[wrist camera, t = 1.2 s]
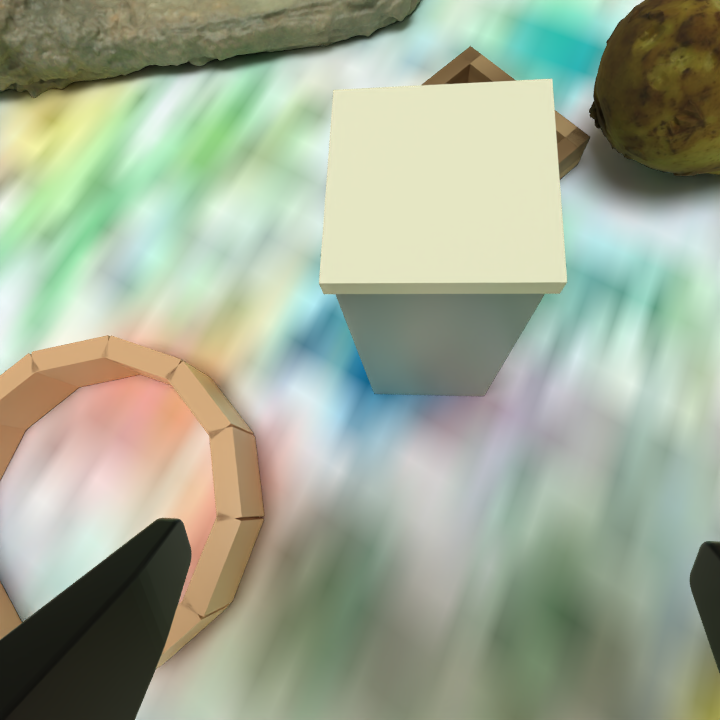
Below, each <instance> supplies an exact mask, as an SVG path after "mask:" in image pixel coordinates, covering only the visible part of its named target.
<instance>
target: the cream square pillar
mask: <svg viewBox="0 0 720 720" xmlns="http://www.w3.org/2000/svg"><path fill="white" fill-rule="evenodd" d="M566 283H567V274H566V261H565V247H564V233H563V220H562V206H561V192H560V179H559V165H558V151H557V138H556V124H555V110H554V97H553V83H552V79H539V80H519V81H499V82H480V83H460V84H441V85H421V86H401V87H382V88H362V89H343V90H333V103H332V116H331V130H330V143H329V157H328V170H327V183H326V197H325V210H324V223H323V237H322V250H321V264H320V277H319V285H320V287H321V289H322V291H323V294H336V296H337V299H338V302H339V304H340V307H341V309H342V312H343V314H344V317H345V320H346V322H347V325H348V327H349V330H350V332H351V335H352V338H353V340H354V343H355V345H356V348H357V350H358V353H359V356H360V358H361V361H362V363H363V366H364V369H365V371H366V374H367V376H368V379H369V381H370V384H371V387H372V389H373V392H374V394H400V395H446V396H484V395H485V394H486V392H487V390H488V389H489V387H490V385H491V384H492V382H493V380H494V379H495V377H496V375H497V373H498V372H499V370H500V368H501V367H502V365H503V363H504V362H505V360H506V358H507V357H508V355H509V353H510V352H511V350H512V348H513V347H514V345H515V343H516V342H517V340H518V338H519V337H520V335H521V333H522V331H523V330H524V328H525V326H526V325H527V323H528V321H529V320H530V318H531V316H532V315H533V313H534V311H535V310H536V308H537V306H538V305H539V303H540V301H541V300H542V298H543V296H544V295H545V294H560V292H561V291H562V289H563V288H564V286H565V285H566Z"/></svg>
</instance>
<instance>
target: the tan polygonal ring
mask: <svg viewBox="0 0 720 720" xmlns="http://www.w3.org/2000/svg"><path fill="white" fill-rule="evenodd" d="M140 374H141V375H143V376H146V377H149V378H152V379H155V380H158V381H160V382H163V383H166V384H169V385H172V386H173V388H174V389H175V390H176V392H177V393H178V394H179V396H180V397H181V398H182V400H183V401H184V402H185V404H186V405H187V407H188V408H189V409H190V411H191V412H192V413H193V415H194V416H195V417H196V419H197V420H198V421H199V423H200V424H201V425H202V427H203V428H204V429H205V431H206V432H207V434H208V435H209V438H210V449H211V460H212V471H213V482H214V493H215V504H216V515H217V517H216V520H215V522H214V525H213V527H212V530H211V532H210V534H209V537H208V539H207V542H206V544H205V547H204V549H203V552H202V554H201V557H200V559H199V562H198V564H197V567H196V569H195V571H194V574H193V576H192V579H191V581H190V584H189V586H188V589H187V591H186V594H185V596H184V599H183V601H182V602H181V603H180V604H178V606H177V609H176V612H175V615H174V619H173V622H172V625H171V629H170V632H169V635H168V638H167V641H166V644H165V647H164V650H163V652H162V655H161V657H160V660H159V662H158V665H157V667H156V669H157V668H158V667H160V666H161V665H163V664H164V663H165V662H166V661H168V660H169V659H170V658H171V657H172V656H173V655H174V654H175V653H177V652H178V651H179V650H180V649H181V648H182V647H183V646H184V645H186V644H187V643H188V642H189V641H190V640H191V639H192V638H194V637H195V636H196V635H197V634H198V633H199V632H200V631H201V630H203V629H204V628H205V627H206V626H207V625H208V624H209V623H210V622H212V621H213V620H214V619H215V618H216V617H217V616H218V615H219V614H221V613H222V612H223V611H224V610H225V609H226V608H227V607H229V606H230V604H229V603H231V602H232V601H233V599H234V596H235V593H236V591H237V588H238V586H239V583H240V580H241V578H242V575H243V573H244V570H245V567H246V565H247V562H248V559H249V557H250V554H251V552H252V549H253V546H254V544H255V541H256V539H257V536H258V533H259V531H260V528H261V526H262V523H263V520H264V519H262V518H259V517H261V516H264V509H263V500H262V492H261V483H260V475H259V466H258V458H257V449H256V441H255V436H253V434H254V433H253V432H252V431H251V429H250V428H249V427H248V425H247V424H246V423H245V422H244V420H243V419H242V418H241V416H240V415H239V414H238V413H237V411H236V410H235V409H234V407H233V406H232V405H231V404H230V402H229V401H228V400H227V398H226V397H225V396H224V394H223V393H222V392H221V391H220V389H219V388H218V387H217V385H216V384H215V383H214V382H213V380H212V379H211V378H210V377H209V376H207V375H205V374H204V373H202V372H201V371H199V370H197V369H196V368H194V367H193V366H191V365H189V364H188V363H186V362H185V361H183V360H181V359H179V358H176V357H173V356H170V355H167V354H164V353H161V352H158V351H155V350H152V349H149V348H146V347H143V346H140V345H137V344H134V343H131V342H129V341H126V340H123V339H120V338H117V337H114V336H111V337H110V336H103V337H98V338H94V339H89V340H84V341H80V342H75V343H70V344H66V345H61V346H57V347H52V348H47V349H43V350H38V351H33V352H32V354H27V355H26V356H25V357H23V358H22V359H21V360H20V361H18V362H17V363H16V364H14V365H13V366H12V367H11V368H9V369H8V370H7V371H5V372H4V373H3V374H2V375H0V479H1V477H2V475H3V474H4V472H5V470H6V468H7V466H8V464H9V462H10V460H11V458H12V456H13V454H14V452H15V450H16V448H17V446H18V444H19V442H20V440H21V439H22V437H23V435H24V433H25V431H26V429H28V428H29V427H30V426H31V425H33V424H34V423H35V422H36V421H38V420H39V419H40V418H41V417H43V416H44V415H45V414H46V413H48V412H49V411H50V410H51V409H53V408H54V407H55V406H56V405H58V404H59V403H60V402H61V401H63V400H64V399H65V398H66V397H68V396H69V395H70V394H71V393H73V392H74V391H75V390H76V389H78V388H79V387H83V386H88V385H93V384H97V383H102V382H107V381H112V380H116V379H121V378H126V377H131V376H135V375H140ZM21 623H22V622H21V620H20V618H19V616H18V614H17V613H16V611H15V609H14V607H13V605H12V603H11V601H10V599H9V597H8V595H7V594H6V592H5V590H4V588H3V586H2V584H1V582H0V639H2V638H3V637H4V636H6V635H7V634H8V633H9V632H11V631H12V630H13V629H15V628H16V627H17V626H19V625H20V624H21Z"/></svg>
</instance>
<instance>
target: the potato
mask: <svg viewBox="0 0 720 720" xmlns="http://www.w3.org/2000/svg"><path fill="white" fill-rule="evenodd" d="M606 43H607V46H606V48H605V51H604V53H603V55H602V58H601V62H600V65H599V69H598V74H597V77H596V81H595V86H594V96H593V97H594V102H593V104H592V107H591V108H590V110H589V113H591V114H590V117H592V118H593V119H595V126H596V127H597V128H601V130H602V132H603V134H604V136H605V137H607V139H608V141H609V142H610V144H611V145H612V149H613V148H615V149H616V150H617V151H618V152H619V153H621V154H623V155H624V158H628V159H632V160H635V161H637V162H639V163H641V164H643V165H645V166H646V167H649V168H651V169H655V170H659V171H662V172H670V173H673V174H674V176H695V175H697V174H703V173H709V174H716V175H720V0H645V1H643V2H642V3H640V4H639V5H637V6H635V7H634V8H633V9H632V11H631V12H630V13H629V14H628V15H627V16H626V17H625V18H624V19H622V20H621V21H620V22H619V23H618V25H617V26H616V28H615V30H614V31H613V33H612V35H611V36H610V38H609V39H608V40H607V42H606Z"/></svg>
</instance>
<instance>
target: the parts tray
mask: <svg viewBox="0 0 720 720" xmlns="http://www.w3.org/2000/svg"><path fill="white" fill-rule="evenodd" d="M499 81H516V80H514V79H513V78H512V77H511V76H509V75H508V74H507V73H505V72H504V71H503V70H501V69H500V68H499V67H497V66H496V65H495V64H493V63H492V62H491V61H489V60H488V59H487V58H485V57H484V56H483V55H482V54H480V53H479V52H478V51H476V50H475V49H474V48H472V47H471V46H470V47H469V48H468V49H466V50H465V51H464V52H462V53H461V54H460V55H459V56H457V57H456V58H455V59H454V60H452V61H451V62H450V63H449V64H447V65H446V66H445V67H443V68H442V69H441V70H440V71H438V72H437V73H436V74H435V75H433V76H432V77H431V78H430V79H428V80H427V81H426V82H425V83H423V84H422V85H441V84H460V83H480V82H499ZM555 124H556V138H557V151H558V165H559V179H561V178H562V177H563V176H565V175H566V174H567V173H568V172H569V171H570V170H572V169H573V168H574V167H575V166H576V165H577V164H578V162H579V160H580V158H581V156H582V154H583V151H584V149H585V147H586V145H587V143H588V141H589V139H590V136H588V135H587V134H586V133H584V132H583V131H582V130H580V129H579V128H578V127H576V126H575V125H574V124H572V123H571V122H570V121H569V120H567V119H566V118H565V117H563V116H562V115H561V114H559V113H558V112H557V111H555Z"/></svg>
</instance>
